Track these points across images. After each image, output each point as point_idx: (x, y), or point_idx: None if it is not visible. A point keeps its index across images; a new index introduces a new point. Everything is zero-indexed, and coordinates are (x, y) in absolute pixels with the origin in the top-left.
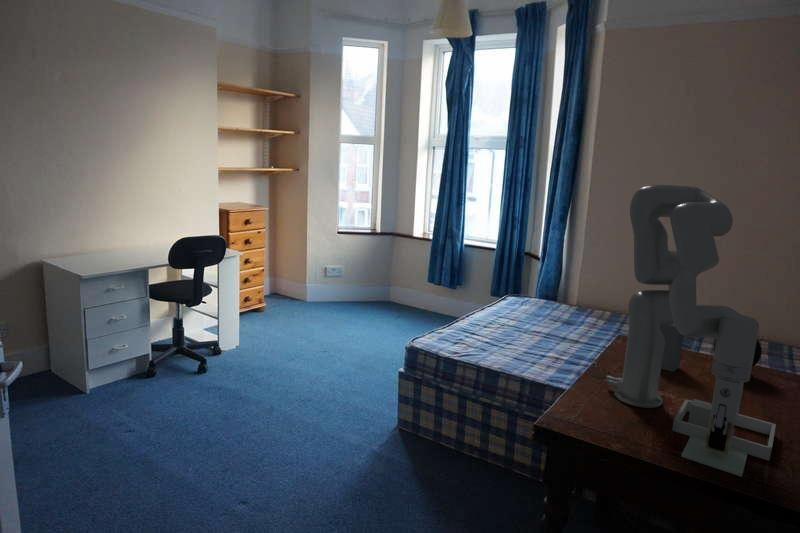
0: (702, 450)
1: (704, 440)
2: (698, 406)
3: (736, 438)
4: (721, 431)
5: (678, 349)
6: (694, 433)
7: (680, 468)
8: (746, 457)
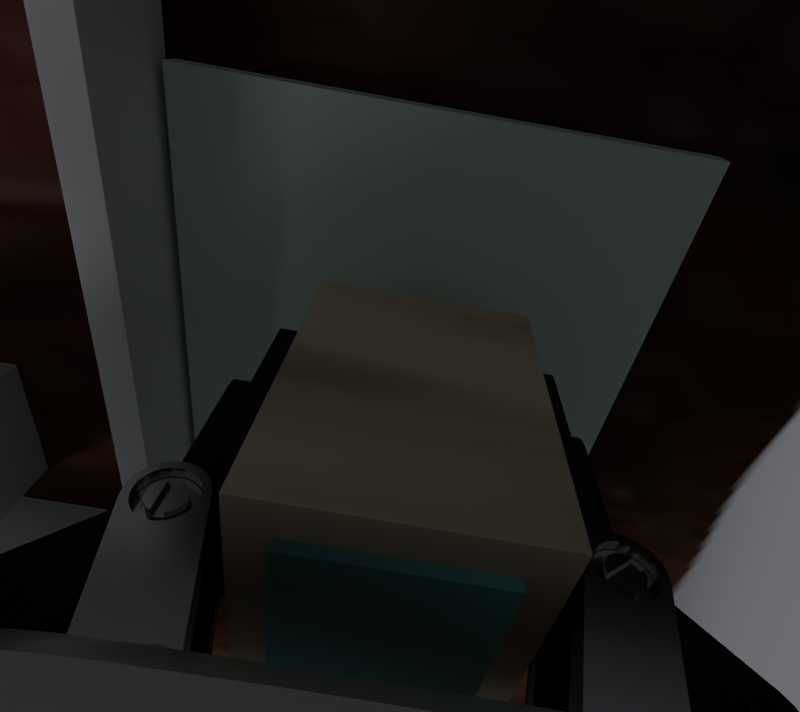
0: None
1: None
2: None
3: (107, 222)
4: (736, 670)
5: None
6: None
7: (713, 523)
8: (311, 87)
